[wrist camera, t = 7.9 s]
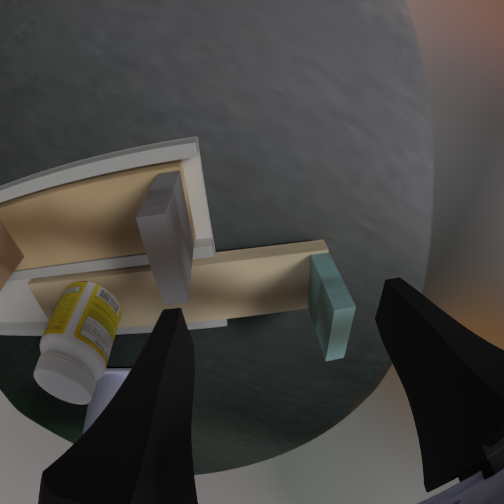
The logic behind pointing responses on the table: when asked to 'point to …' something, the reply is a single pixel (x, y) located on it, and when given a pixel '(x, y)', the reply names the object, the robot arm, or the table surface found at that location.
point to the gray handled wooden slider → (111, 223)
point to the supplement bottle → (78, 342)
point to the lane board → (25, 304)
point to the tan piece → (231, 290)
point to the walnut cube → (8, 255)
